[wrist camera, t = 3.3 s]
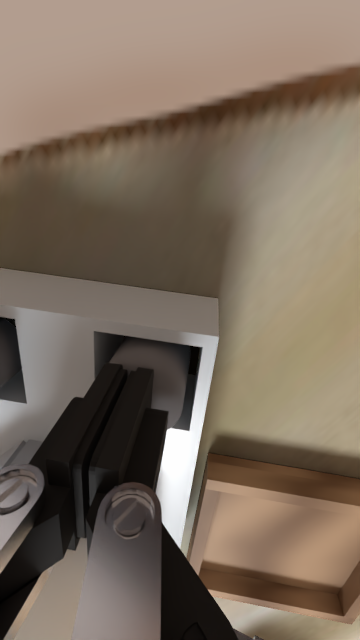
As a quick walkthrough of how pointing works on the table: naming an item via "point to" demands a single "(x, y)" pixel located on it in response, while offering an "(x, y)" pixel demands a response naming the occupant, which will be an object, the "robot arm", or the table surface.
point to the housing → (100, 364)
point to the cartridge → (57, 599)
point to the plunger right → (159, 370)
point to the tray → (279, 537)
